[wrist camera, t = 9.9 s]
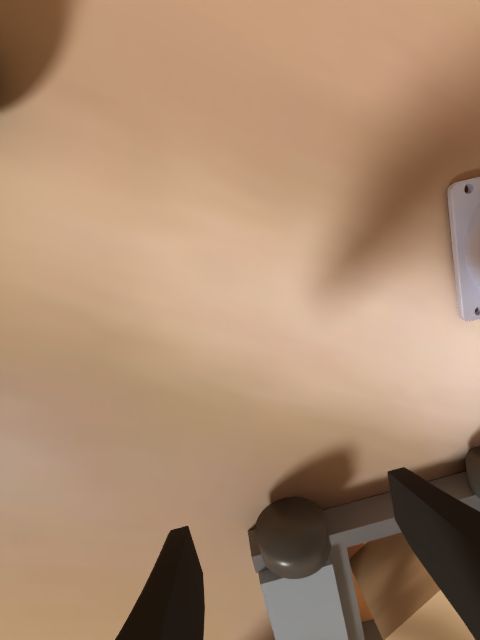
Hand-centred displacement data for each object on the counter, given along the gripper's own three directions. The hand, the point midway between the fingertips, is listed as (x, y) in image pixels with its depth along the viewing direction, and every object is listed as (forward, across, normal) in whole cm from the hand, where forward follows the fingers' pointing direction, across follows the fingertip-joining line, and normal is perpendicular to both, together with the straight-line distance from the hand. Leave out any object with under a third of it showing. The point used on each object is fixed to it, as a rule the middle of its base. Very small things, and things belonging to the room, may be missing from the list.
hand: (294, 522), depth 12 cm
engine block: (+9, -7, +14) cm, 18 cm away
